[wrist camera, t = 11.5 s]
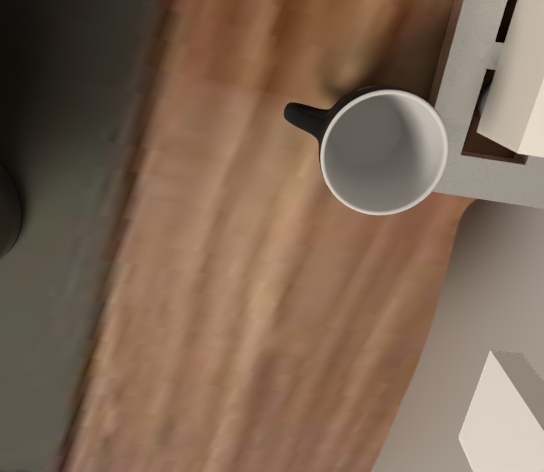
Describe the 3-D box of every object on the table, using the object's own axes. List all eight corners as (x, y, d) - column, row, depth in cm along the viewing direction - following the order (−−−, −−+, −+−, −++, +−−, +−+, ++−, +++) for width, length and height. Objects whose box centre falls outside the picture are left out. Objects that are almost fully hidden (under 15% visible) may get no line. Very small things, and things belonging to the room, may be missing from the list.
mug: (434, 98, 41) (474, 116, 32) (390, 191, 44) (414, 232, 35) (304, 49, 40) (306, 52, 31) (269, 148, 43) (261, 178, 34)
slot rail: (406, 180, 44) (412, 188, 42) (485, -118, 35) (498, -129, 33) (534, 200, 44) (547, 209, 42) (644, -92, 35) (669, -101, 33)
